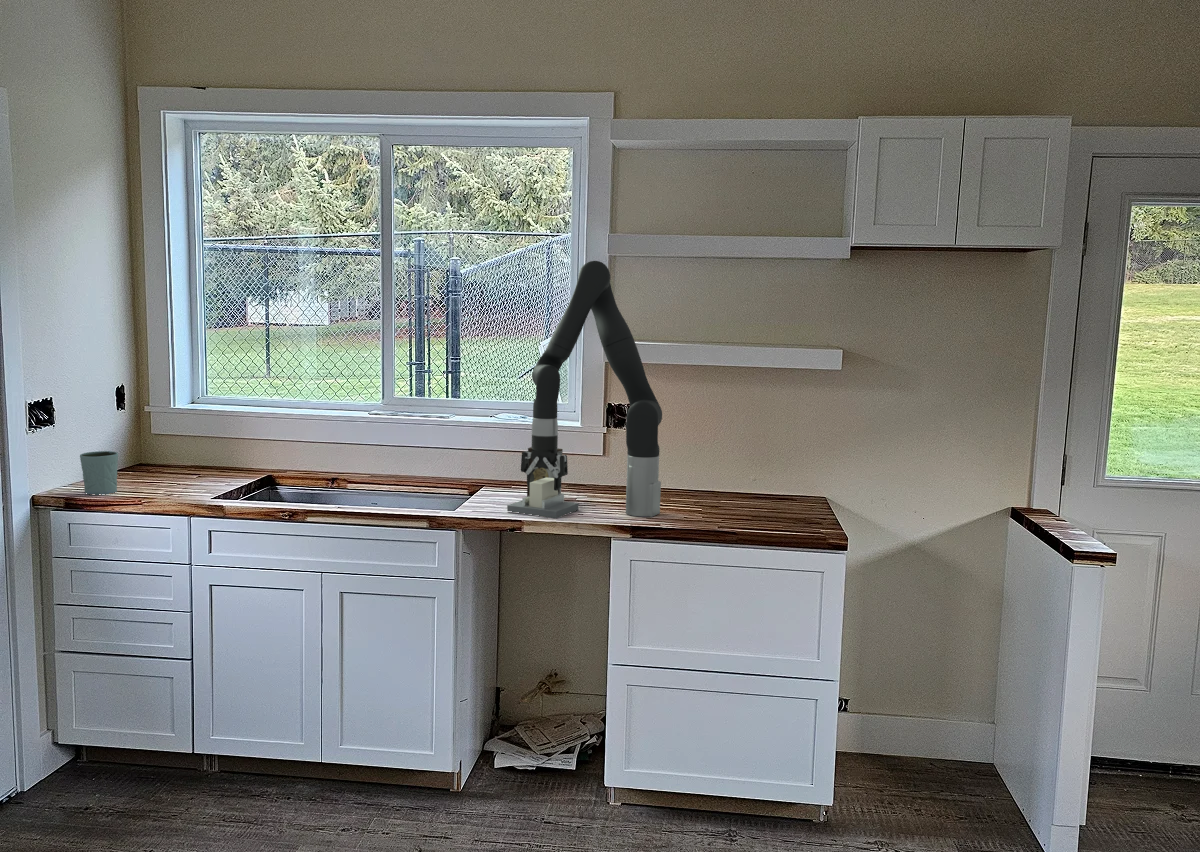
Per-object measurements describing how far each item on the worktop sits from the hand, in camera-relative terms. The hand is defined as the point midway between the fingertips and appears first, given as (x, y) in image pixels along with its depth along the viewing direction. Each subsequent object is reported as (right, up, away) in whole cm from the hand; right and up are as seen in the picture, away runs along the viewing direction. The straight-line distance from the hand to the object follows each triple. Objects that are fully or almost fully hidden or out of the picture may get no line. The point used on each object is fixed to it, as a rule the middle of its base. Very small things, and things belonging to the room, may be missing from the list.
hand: (543, 488), depth 280 cm
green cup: (-134, -2, +10) cm, 134 cm away
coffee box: (-1, -5, +18) cm, 18 cm away
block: (0, -5, +1) cm, 5 cm away
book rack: (0, -7, +1) cm, 7 cm away
